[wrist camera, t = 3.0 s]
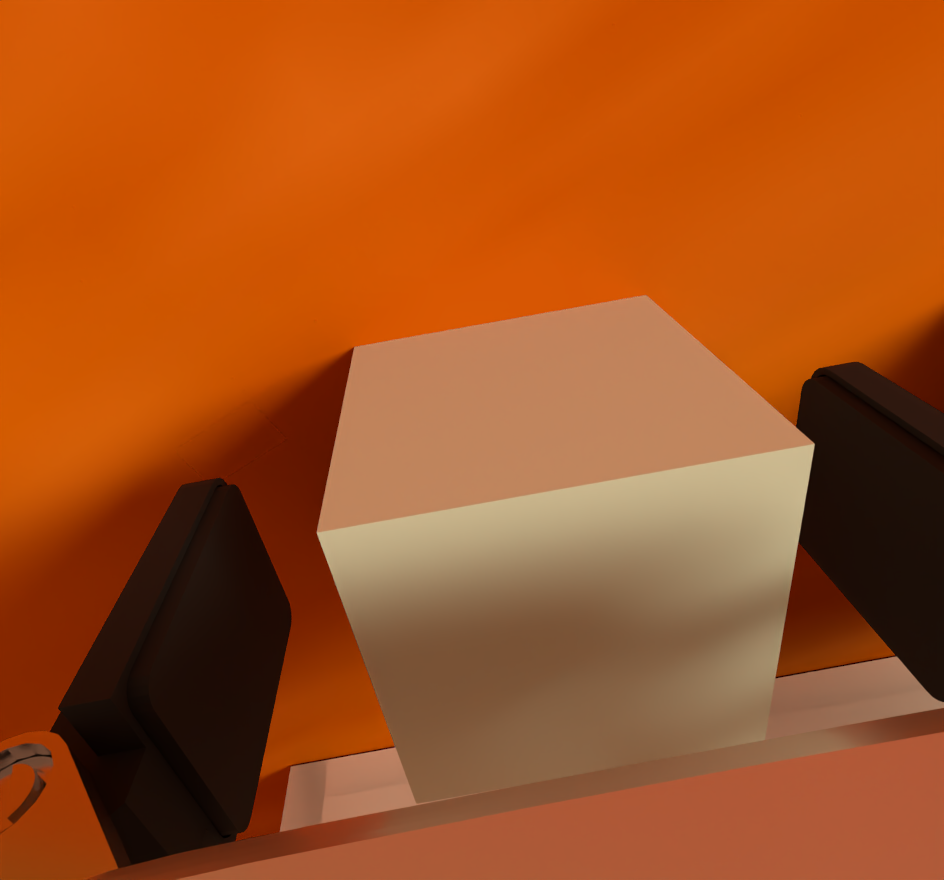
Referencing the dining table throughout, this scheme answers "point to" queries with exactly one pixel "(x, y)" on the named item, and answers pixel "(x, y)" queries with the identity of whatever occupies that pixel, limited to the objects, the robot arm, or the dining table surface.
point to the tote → (386, 786)
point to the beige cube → (561, 544)
